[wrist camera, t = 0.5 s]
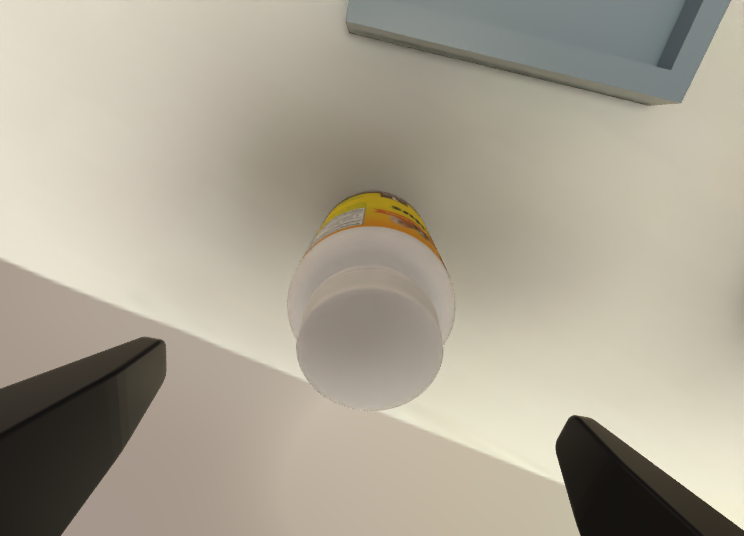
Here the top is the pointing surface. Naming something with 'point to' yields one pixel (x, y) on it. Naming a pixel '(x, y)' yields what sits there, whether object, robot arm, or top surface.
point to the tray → (559, 39)
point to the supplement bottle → (371, 304)
